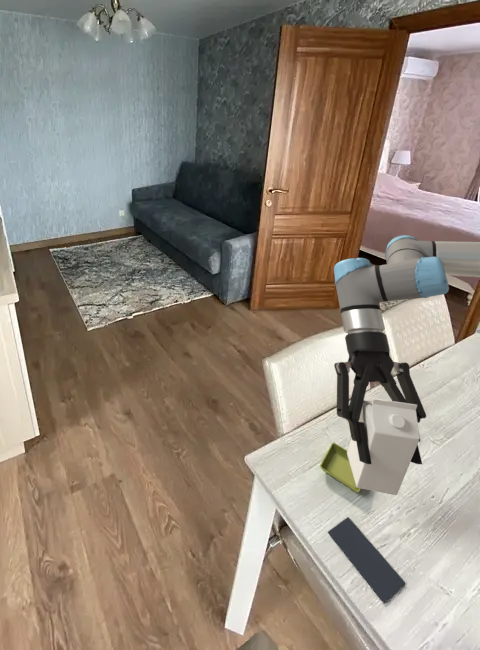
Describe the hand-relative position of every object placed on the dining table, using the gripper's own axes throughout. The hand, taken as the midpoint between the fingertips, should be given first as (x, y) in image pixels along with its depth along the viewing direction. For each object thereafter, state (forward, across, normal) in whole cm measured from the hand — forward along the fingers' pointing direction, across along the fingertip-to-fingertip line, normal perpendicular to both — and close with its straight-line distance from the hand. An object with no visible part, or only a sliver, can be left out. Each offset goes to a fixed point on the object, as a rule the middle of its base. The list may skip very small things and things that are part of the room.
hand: (390, 462), depth 62 cm
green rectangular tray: (+6, -1, -24) cm, 25 cm away
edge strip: (+18, +2, -12) cm, 21 cm away
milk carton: (+3, 0, -8) cm, 9 cm away
